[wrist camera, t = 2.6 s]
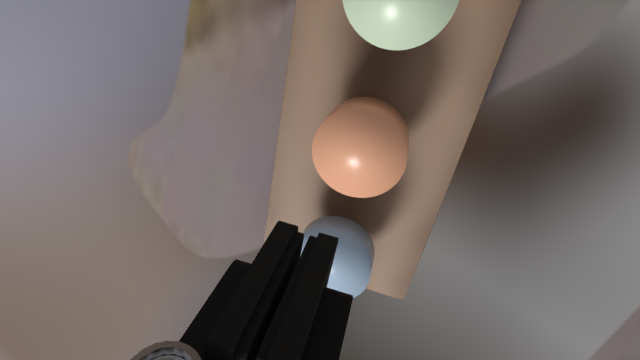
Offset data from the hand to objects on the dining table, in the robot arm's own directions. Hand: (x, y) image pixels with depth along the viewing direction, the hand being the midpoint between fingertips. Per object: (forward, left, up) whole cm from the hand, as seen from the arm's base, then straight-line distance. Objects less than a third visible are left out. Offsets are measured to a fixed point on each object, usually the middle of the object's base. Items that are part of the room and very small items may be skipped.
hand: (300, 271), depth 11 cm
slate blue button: (0, +7, -10) cm, 13 cm away
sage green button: (0, -7, -10) cm, 13 cm away
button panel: (0, 0, -15) cm, 15 cm away
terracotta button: (0, 0, -10) cm, 11 cm away
